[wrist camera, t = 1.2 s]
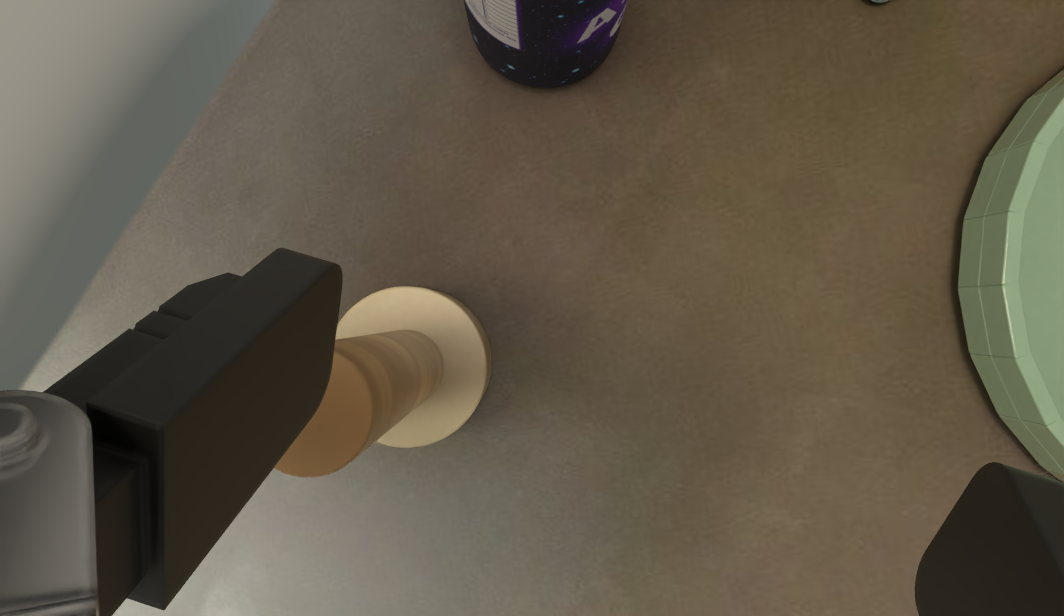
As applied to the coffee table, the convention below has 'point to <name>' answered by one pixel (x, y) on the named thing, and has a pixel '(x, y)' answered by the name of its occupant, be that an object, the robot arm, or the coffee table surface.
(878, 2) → the smartphone
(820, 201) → the coffee table surface
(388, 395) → the brush
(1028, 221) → the pan
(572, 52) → the beverage can
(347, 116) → the coffee table surface
